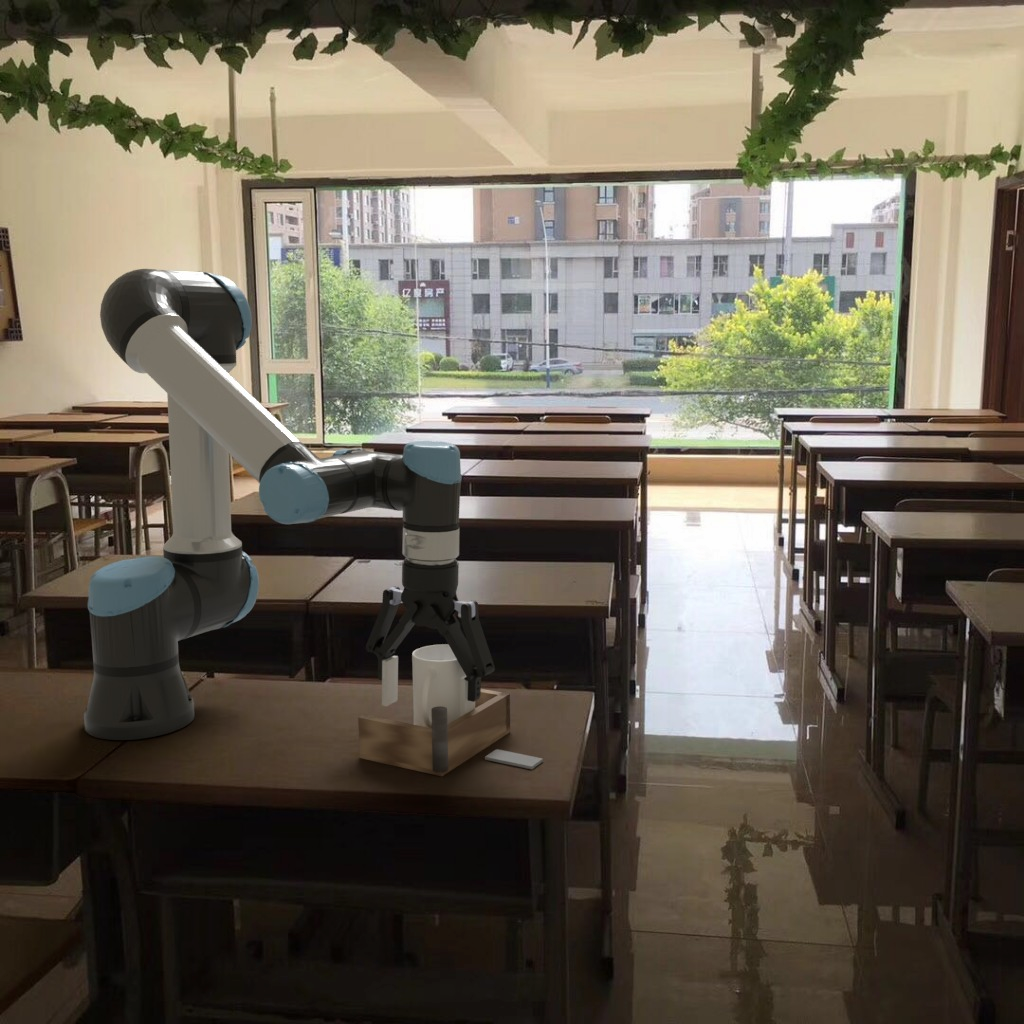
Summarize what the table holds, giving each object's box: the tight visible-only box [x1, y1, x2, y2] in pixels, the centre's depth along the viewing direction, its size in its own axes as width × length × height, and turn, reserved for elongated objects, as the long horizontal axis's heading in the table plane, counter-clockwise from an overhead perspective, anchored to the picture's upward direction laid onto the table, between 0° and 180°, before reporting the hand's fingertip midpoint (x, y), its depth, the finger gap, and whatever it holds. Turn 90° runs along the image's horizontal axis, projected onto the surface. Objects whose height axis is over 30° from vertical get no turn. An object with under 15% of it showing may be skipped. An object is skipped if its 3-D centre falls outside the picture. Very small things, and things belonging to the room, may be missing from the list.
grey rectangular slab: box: [484, 748, 544, 770], centre depth 141 cm, size 7×3×1 cm, turn 61°
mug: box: [411, 643, 466, 728], centre depth 146 cm, size 12×8×12 cm
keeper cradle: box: [357, 688, 511, 777], centre depth 146 cm, size 13×18×9 cm
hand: (427, 712), depth 147 cm, fingers open, 12 cm apart
